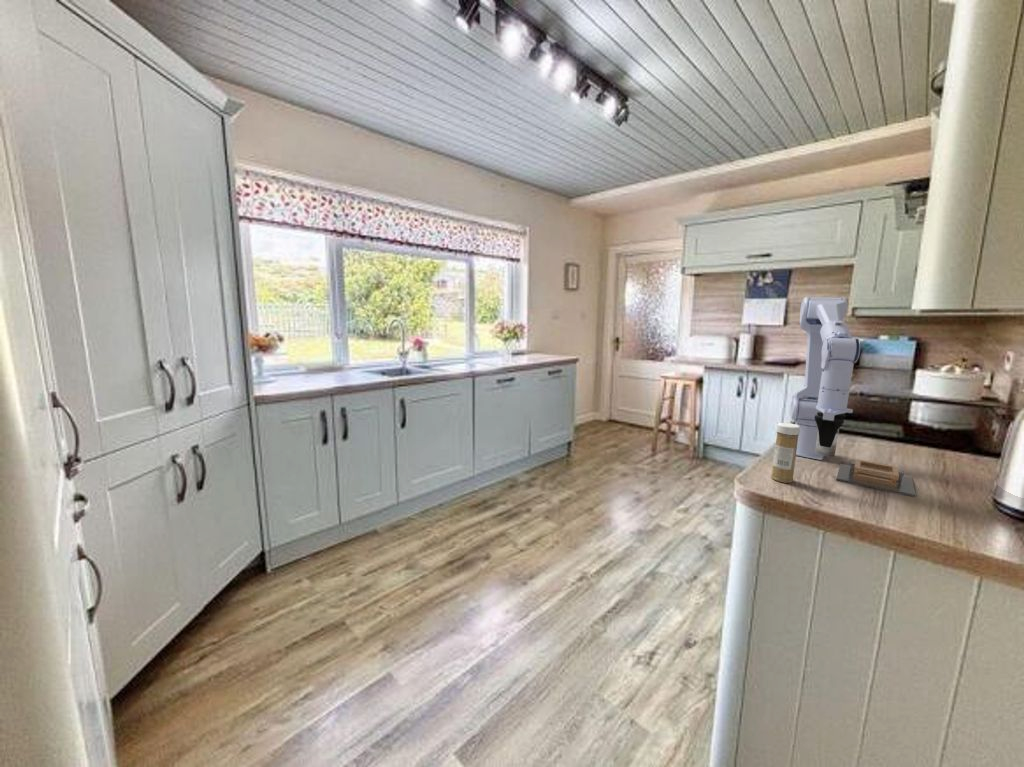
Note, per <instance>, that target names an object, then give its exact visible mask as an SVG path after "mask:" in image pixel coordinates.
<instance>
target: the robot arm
mask: <svg viewBox="0 0 1024 767" xmlns="http://www.w3.org/2000/svg"><path fill="white" fill-rule="evenodd" d="M800 304H801V305H800V309H799V310H800V311H799V325H800V326H799V327H800V329H802V331H803V330H804V331H805V333H806V353H805V354H806V355H805V356H806V358H805V368H804V369H805V371H804V372H805V373H804V385H803V386H804V387H803V388H801V389H799V390H797V391H795V392H794V393H793V395H792V396H791V402H790V406H789V417H790V419H791V420H792V421H794V424H795V425H798V426H800V434H799V436H798V442H797V451H796V457H797V456H798V457H804V458H809V459H814V460H817V461H818V460H819V461H822V460H823V459H824V456H821V455H818V454H816V453H815V447H816V440H817V433H818V431H819V443H820V446H824V447H829V448H830V447H831V446H832V443H833V441H834V438H835V435H836V433H837V431H838V429H839V430H840V428H841V426H842V425H843V424H844V423H845V419H846V416H847V415H846V413H847V414H853V412H854V411H853V410H854V409H852V408H848V401H849V396H850V388H851V383H852V377H853V372H854V371H853V370H854V365H855V364H856V363H857V362H858V360H859V357H860V354H861V342H860V338H859V337H855V336H852V335H851V331H850V328H849V325H848V324H847V323H846V322H844V321H843V320H844V319H845V317H846V314H847V310H848V300H847V299H846V297H845V296H841V297H826V296H825V297H821V296H819V297H817V296H816V297H813V296H812V297H811V296H810V297H809V296H805V297H804V298H803V299H802V301H801V303H800Z"/></svg>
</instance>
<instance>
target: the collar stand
mask: <svg viewBox="0 0 1024 767" xmlns="http://www.w3.org/2000/svg"><path fill="white" fill-rule="evenodd" d="M862 466H863V467H862ZM874 468H875V469H874ZM879 469H880V470H879ZM884 470H885V471H884ZM889 471H890V472H889ZM836 481H838V482H843V483H848V484H851V485H852V484H853V485H856V486H862V487H866V488H872V489H876V490H881V491H886V492H890V493H895V494H899V495H904V496H909V497H913V498H915V497H916V491H915V486H914V482H913V478H912V476H906V475H904V472H903V470H899V467H898V466H895V465H894V466H893V465H890V464H884V463H877V462H874V461H867V460H863V459H862V460H861V459H855V461H851V462H850V465H848V464H843V463H839V467H838V471H837V475H836Z"/></svg>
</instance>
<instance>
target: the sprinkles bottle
mask: <svg viewBox="0 0 1024 767" xmlns="http://www.w3.org/2000/svg"><path fill="white" fill-rule="evenodd" d="M799 434H800V426H798V425H795V423H789V422H779V423H777V426H776V440H775V446H774V451H773V452H774V453H773V460H772V471H771V472H772V473H771V475H770V477H771V479H772V480H774V481H776V482H779V483H786V484H790V483H793V481H794V475H795V474H794V473H795V468H796V458H797V455H796V451H797V442H798V436H799Z"/></svg>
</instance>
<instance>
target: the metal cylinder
mask: <svg viewBox="0 0 1024 767" xmlns="http://www.w3.org/2000/svg"><path fill="white" fill-rule="evenodd" d="M839 433H840V428H839V429H838V431H837V433H836V435H835V438H834V441H833V443H832V446H831V447H830V448H829V447H824V446H820V443H819V431H818V433H817V440H816V447H815V453H816V454H818V455H821V456H823V457H828V458H829V457H831V458H834V457H835V456H836V449H837V444H838V439H839V438H838V437H839Z"/></svg>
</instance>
